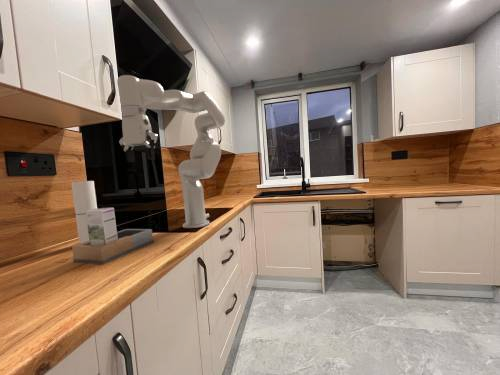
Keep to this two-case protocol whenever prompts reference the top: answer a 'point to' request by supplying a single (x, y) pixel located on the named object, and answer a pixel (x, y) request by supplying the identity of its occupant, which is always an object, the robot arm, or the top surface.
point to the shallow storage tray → (112, 247)
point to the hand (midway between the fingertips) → (141, 160)
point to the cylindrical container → (83, 206)
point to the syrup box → (101, 226)
